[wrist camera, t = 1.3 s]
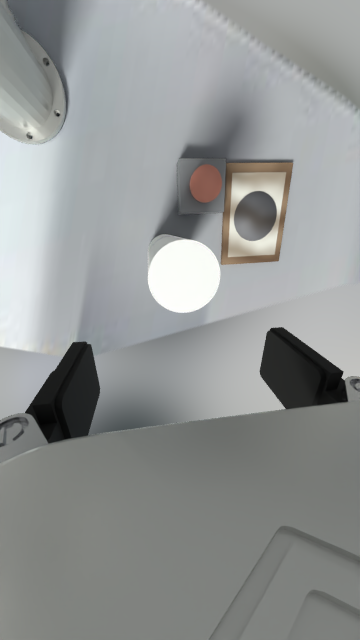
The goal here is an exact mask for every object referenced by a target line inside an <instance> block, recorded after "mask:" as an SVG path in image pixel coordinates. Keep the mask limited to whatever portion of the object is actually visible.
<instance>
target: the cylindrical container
mask: <svg viewBox="0 0 360 640" xmlns="http://www.w3.org/2000/svg"><path fill="white" fill-rule="evenodd" d="M219 282H220V267H219V263H218V261H217V259H216V257H215V255H214V254H213V252H212V251H211V250H210V249H209V248H208V247H207V246H205V245H203V244H202V243H200V242H197V241H194V240H190V239H185V238H181V237H177V236H172V235H168V234H162V235H159V236H157V237H155V238H154V239H153V240H152V241H151V243H150V245H149V248H148V283H149V288H150V291H151V293H152V295H153V297H154V298H155V300H156V301H157V302H158V303H159V304H160V305H162V306H163V307H164V308H166V309H168V310H171V311H174V312H179V313H186V312H192V311H195V310H198V309H200V308H201V307H203V306H205V305H206V304H207V303H208V302H209V301H210V300H211V299H212V298H213V296H214V295H215V293H216V291H217V289H218V286H219Z"/></svg>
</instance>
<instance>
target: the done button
mask: <svg viewBox="0 0 360 640" xmlns="http://www.w3.org/2000/svg"><path fill="white" fill-rule="evenodd" d="M221 187H222V178H221V175H220V173H219V171H218V170H217V168H215V167H214V166H212V165H209V164H205V165H202V166H200V167H198V168H197V169H196V170H195V171H194V173H193V174H192V176H191V179H190V191H191V194H192V196H193V197H194V198H195V199H196V200H197V201H199V202H202V203H207V202H210V201H212V200H214V199H215V198H216V197H217V196H218V195H219V193H220V191H221Z"/></svg>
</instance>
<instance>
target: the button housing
mask: <svg viewBox="0 0 360 640" xmlns="http://www.w3.org/2000/svg"><path fill="white" fill-rule="evenodd" d="M205 164H209V165H212V166H214V167H215V168H217V170H218V171H219V173H220V175H221V178H222V187H221V191H220V193H219V195H218V196H217V197H216V198H215V199H214V200H212V201H210V202H207V203H202V202H199V201H197V200H196V199H195V198H194V197H193V196H192V194H191V191H190V179H191V176H192V174H193V173H194V171H195V170H196V169H197V168H198V167H200V166H202V165H205ZM225 176H226V158H179V160H178V162H177V190H178V214H208V213H221V212H224V200H225Z"/></svg>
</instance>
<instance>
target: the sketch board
mask: <svg viewBox="0 0 360 640" xmlns="http://www.w3.org/2000/svg"><path fill="white" fill-rule="evenodd" d="M292 167H293V163H226V176H225V200H224V212H223V226H222V250H221V264H222V265H226V264H242V263H258V262H273V261H279V254H280V248H281V241H282V234H283V228H284V221H285V214H286V208H287V201H288V194H289V187H290V181H291V174H292Z"/></svg>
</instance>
